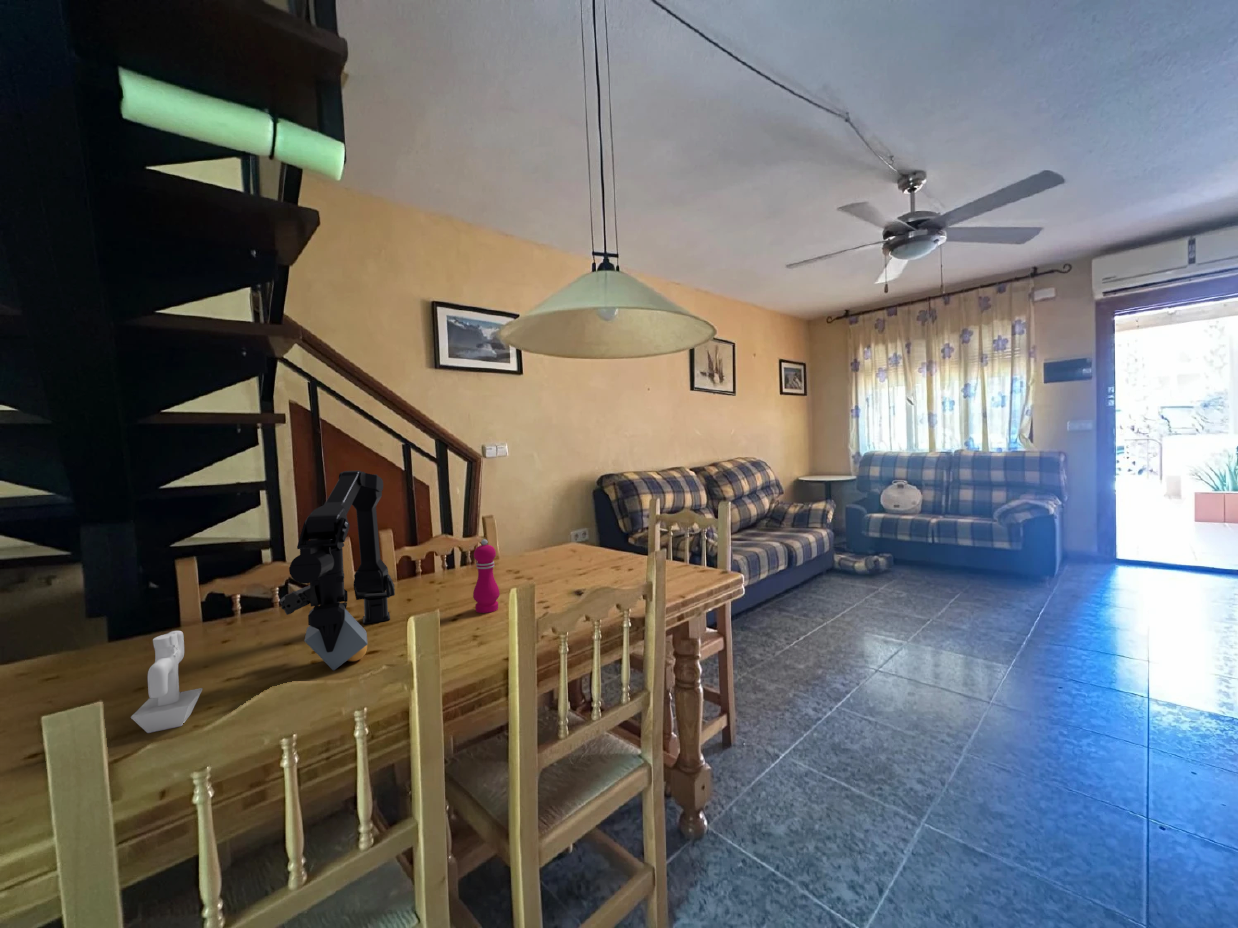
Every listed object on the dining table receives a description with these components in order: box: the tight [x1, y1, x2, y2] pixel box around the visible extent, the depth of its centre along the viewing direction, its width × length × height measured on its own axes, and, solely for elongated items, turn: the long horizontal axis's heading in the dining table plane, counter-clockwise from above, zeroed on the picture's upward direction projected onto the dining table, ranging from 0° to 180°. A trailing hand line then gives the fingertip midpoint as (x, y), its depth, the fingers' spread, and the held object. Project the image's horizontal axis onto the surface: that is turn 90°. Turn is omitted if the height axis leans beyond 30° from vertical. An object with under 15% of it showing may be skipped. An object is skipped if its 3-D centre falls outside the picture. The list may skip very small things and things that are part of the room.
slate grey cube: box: [303, 608, 369, 671], centre depth 106 cm, size 8×8×9 cm
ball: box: [346, 644, 368, 662], centre depth 107 cm, size 5×5×5 cm
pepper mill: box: [472, 538, 500, 614], centre depth 140 cm, size 7×7×20 cm
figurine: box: [130, 630, 204, 734], centre depth 83 cm, size 7×9×15 cm
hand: (331, 645), depth 105 cm, fingers open, 8 cm apart
